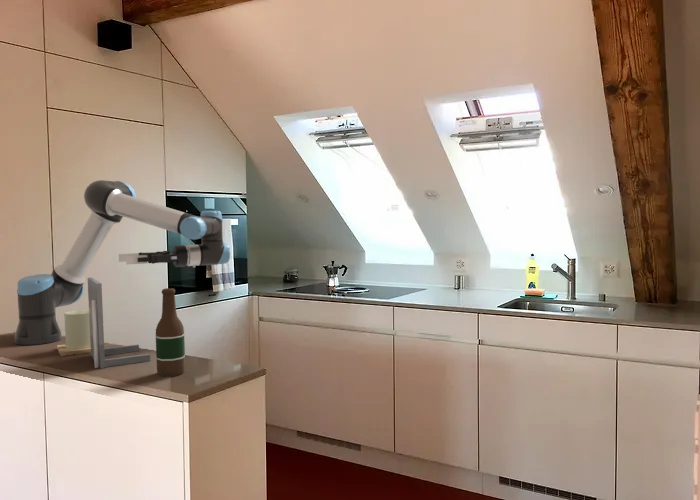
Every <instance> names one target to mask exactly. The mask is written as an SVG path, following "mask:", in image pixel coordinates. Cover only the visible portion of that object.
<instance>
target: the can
mask: <svg viewBox="0 0 700 500" xmlns="http://www.w3.org/2000/svg"><path fill="white" fill-rule="evenodd" d="M63 316H64V331H65V335H64V337H65V344H66V346H65V348H67V349H84V348H89V347H91V345H90V322H89V309H80V310H79V309H78V310H77V309H76V310H71V311H70V310H69V311H66V312H63Z"/></svg>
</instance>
